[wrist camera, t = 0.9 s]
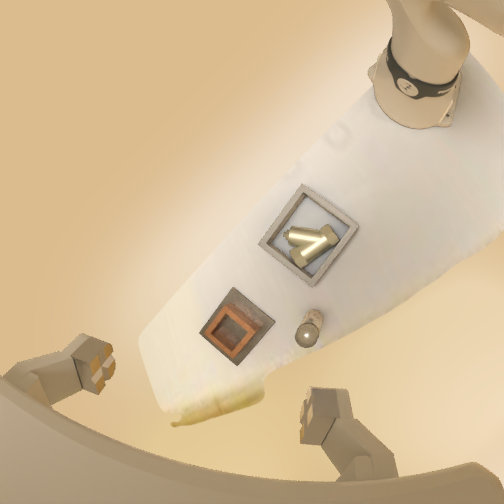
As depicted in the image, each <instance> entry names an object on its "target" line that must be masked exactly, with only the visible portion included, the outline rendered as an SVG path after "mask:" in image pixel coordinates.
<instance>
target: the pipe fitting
mask: <svg viewBox="0 0 504 504" xmlns="http://www.w3.org/2000/svg"><path fill="white" fill-rule="evenodd" d="M283 237H285V239H286V240H288V244H289V245H292V246H297V247H295V248H293V249H292V250H290V251H289V252H290V255H291V257H292V259H293V260H294V262H295V263H296V264H297V265H298V267H299V268H303V267H305V266H306V265H308V264H309V262H311V261H312V260H313V259H315V258H316V257H318V256H319V255H321V254H322V253H323V252H325V251H326V250H328V249H329V248H330V247H333V246H335V245H336V244H337V243H339V242H340V240H339V239H338V237H337V236H336V234H335V233H334V231H333V230H332V229H331V227H330V226H329V224H327V225H325V226H324V227H322V228H321V230H314V229H308V228H302V227H296V226H292V227H291V228H290V230H287V231H286V232H284V234H283Z"/></svg>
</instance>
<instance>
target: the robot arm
mask: <svg viewBox="0 0 504 504" xmlns="http://www.w3.org/2000/svg"><path fill="white" fill-rule="evenodd" d="M386 1H387V3H388V5H389V7H390V9H391V12H392V16H393V33H392V37H391V39H390V41H389V44H388V46H387V48H385V49H384V50H383V54H380V55H379V56H378V60H377V63H375V64H374V65H373V66H372V67H370V68H369V70H368V76H369V78H370V79H371V81H372V82H373V85H374V91H375V96H376V99H377V102H378V104H379V105H380V107H381V108H382V110H383V111H384V112H385V113H386V114H387V115H388V116H389V117H390V118H391V119H393V120H394V121H396V122H397V123H399V124H401V125H404V126H406V127H410V128H415V129H424V128H428V127H432V126H441V127H449V126H450V125H451V122H452V119H453V114H454V110H455V106H456V101H457V96H458V91H459V86H460V81H461V73H460V71H459V69H460V67H461V66H462V64H463V62H464V60H465V58H466V57H467V55H468V53H469V49H470V40H469V36H468V33H467V31H466V28H465V26H464V24H463V23H462V21H461V19H460V18H459V17H458V16H457V15H456V13H455V12H453V10H452V9H451V8H450V7H452V8H454V9H456V10H458V11H459V12H462V13H463V14H465V15H467V16H469V17H470V18H472V19H474V20H476V21H477V22H479V23H481V24H482V25H484V26H485V27H487V28H489V29H490V30H492V31H493V32H495V33H497V34H499V35H501V36H503V37H504V0H386ZM449 6H450V7H449ZM446 115H448V117H447V116H446ZM112 352H113V348H112V345H111V344H110V343H107V342H104V341H101V340H99V339H97V338H94V337H90V336H88V335H86V334H80V335H79V336H78V337H76V338H75V339H74V340H73V341H72V342H71V343H70V344H69V345H68V346H67V347H66V348H65V349H64V350H63V351H62V352H59V351H58V352H54V353H51V354H47V355H43V356H40V357H36V358H33V359H29V360H26V361H22V362H18V363H17V364H15V365H14V366H13V367H12V368H11V369H10V370H9V371H8V372H7V373H6V374H5V375H4V376H3V377H2V376H1V375H0V504H504V489H503V486H502V484H501V482H500V480H499V478H498V477H497V476H496V475H494V474H493V473H492V472H490V471H489V470H487V469H486V468H485V467H483V466H482V465H480V464H478V463H476V462H470V463H465V464H462V465H458V466H454V467H450V468H446V469H441V470H437V471H432V472H427V473H422V474H416V475H411V476H404V477H399V476H398V472H397V468H396V463H395V459H394V455H393V453H392V452H391V451H390V450H389V449H388V448H387V447H386V446H385V445H384V444H383V443H382V442H381V441H379V440H378V439H377V438H376V437H375V436H374V435H373V434H372V433H371V432H370V431H369V430H368V429H367V428H366V427H365V426H364V425H363V424H362V423H361V422H360V421H359V420H357V419H353V413H352V408H351V403H350V398H349V393H348V390H347V389H336V388H335V389H334V388H321V387H309V389H308V391H307V399H306V400H304V402H303V405H302V408H301V414H300V423H301V424H302V427H301V430H300V443H301V444H311V445H321V447H322V449H323V450H324V451H325V453H326V454H327V456H328V457H329V459H330V460H331V461H332V463H333V464H334V466H335V467H336V468H337V470H338V471H339V473H340V474H341V476H340V477H339V478H338V479H337V480H336V481H335V482H311V481H291V480H278V479H269V478H260V477H253V476H246V475H239V474H233V473H227V472H222V471H217V470H212V469H207V468H203V467H199V466H195V465H191V464H186V463H183V462H179V461H176V460H172V459H169V458H165V457H162V456H159V455H156V454H153V453H150V452H147V451H144V450H141V449H138V448H135V447H132V446H130V445H127V444H124V443H122V442H120V441H117V440H115V439H112V438H110V437H108V436H105V435H103V434H100V433H98V432H96V431H94V430H92V429H90V428H87V427H86V426H83V425H81V424H79V423H77V422H75V421H73V420H71V419H69V418H68V417H66V416H64V415H62V414H60V413H58V412H57V411H55V410H53V409H52V406H51V405H52V404H54V403H56V402H59V401H61V400H63V399H65V398H67V397H69V396H71V395H73V394H75V393H77V392H79V391H81V390H82V389H84V390H87V391H89V392H92V393H94V394H97V395H99V394H100V392H101V391H102V389H103V388H104V387H105V381H106V380H109V379H111V377H112V376H113V374H114V371H115V359H114V358H113V356H112V355H111V354H112Z"/></svg>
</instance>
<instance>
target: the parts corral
mask: <svg viewBox="0 0 504 504" xmlns="http://www.w3.org/2000/svg"><path fill="white" fill-rule="evenodd" d="M305 196H307V197H309V198H310V199H312V200H313V201H314V202H316V203H317V204H319V205H320V206H321V207H323V208H324V209H325V210H327V211H328V212H329V213H331V214H332V215H333V216H335V217H336V218H337V219H339V220H340V221H341V222H343V223H344V224H345V225H347V226H348V227H349V229H348V231H347V232H346V234H345V235H344V236H343V238H342V239H341V240H340V242H339V243H338V244H337V246H336V247H335V248H334V250H333V251H332V252H331V254H330V255H329V256H328V258H327V259H326V260H325V262H324V263H323V264H322V266H321V267H320V268H319V270H318V271H317V272H316V273H315V275H314V276H312V275H311V274H309V273H308V272H307V271H306V270H304V269H303V268H299V267H298V265H297V264H296V263H295V262H294V261H293V260H292V259H290V258H289V257H288V256H286V255H285V254H284V253H283V252H281V251H280V250H279V249H277V248H276V247H275V246H274V245H272V244H271V242H272V241H273V240H274V238H275V237H276V236H277V234H278V233H279V231H280V230H281V229H282V227H283V226H284V225H285V223H286V222H287V221H288V219H289V218H290V216H291V215H292V214H293V212H294V211H295V210H296V208H297V207H298V205H299V204H300V203H301V201H302V200H303V199H304V197H305ZM358 226H359V225H358V224H357V223H355V222H354V221H353V220H351V219H350V218H349V217H347V216H346V215H345V214H343V213H342V212H341V211H339V210H338V209H337V208H335V207H334V206H333V205H331V204H330V203H329V202H327V201H326V200H324V199H323V198H322V197H320V196H319V195H318V194H316V193H315V192H313V191H312V190H310V189H309V188H308V187H306V186H305V185H303V184H301V185H300V187H299V188H298V190H297V191H296V192H295V194H294V195H293V196H292V198H291V199H290V201H289V202H288V203H287V205H286V206H285V207H284V209H283V210H282V212H281V213H280V214H279V216H278V217H277V218H276V220H275V221H274V223H273V224H272V225H271V227H270V228H269V230H268V231H267V232H266V234H265V235H264V236H263V238H262V239H261V241H260V242H259V243H258V245H259V246H260V247H262V248H263V249H264V250H265V251H267V252H268V253H269V254H271V255H272V256H273V257H274V258H276V259H277V260H278V261H279V262H281V263H282V264H283V265H284V266H286V267H287V268H288V269H290V270H291V271H292V272H293V273H295V274H296V275H297V276H298V277H300V278H301V279H302V280H303V281H305V282H306V283H307V284H308V285H310V286H311V287H313V286H314V285H315V283H316V282H317V281H318V280H319V278H320V277H321V276H322V274H323V273H324V272H325V271H326V269H327V268H328V267H329V265H330V264H331V263H332V261H333V260H334V259H335V257H336V256H337V255H338V253H339V252H340V251H341V249H342V248H343V247H344V245H345V244H346V243H347V241H348V240H349V239H350V237H351V236H352V235H353V233H354V232H355V230H356V229H357V228H358Z"/></svg>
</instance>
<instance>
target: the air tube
mask: <svg viewBox="0 0 504 504" xmlns="http://www.w3.org/2000/svg"><path fill="white" fill-rule="evenodd" d="M322 321H323V316H322V314H321V313H320V312H319V311H318V310H310V311H308V312H307V313H306V315H305V317H304V319H303V321H302V323H301V325H300V326H299V328H298V330H297V332H296V335H295V339H296V342H297V343H298V344H299V345H300V346H301V347H304V348H309V347H312V346H313V345H315V343H316V342H317V339H318V337H319V332H320V328H321V324H322Z"/></svg>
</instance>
